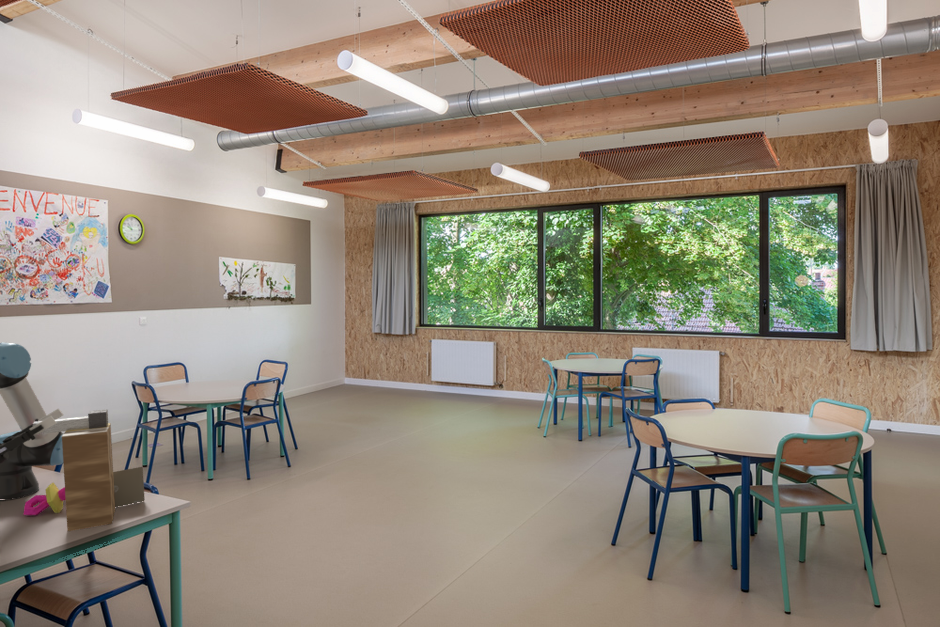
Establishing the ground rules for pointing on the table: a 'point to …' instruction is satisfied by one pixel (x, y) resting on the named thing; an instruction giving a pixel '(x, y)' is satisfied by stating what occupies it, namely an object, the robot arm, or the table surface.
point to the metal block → (79, 422)
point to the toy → (46, 501)
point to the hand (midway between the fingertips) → (57, 415)
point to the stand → (88, 477)
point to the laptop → (128, 486)
